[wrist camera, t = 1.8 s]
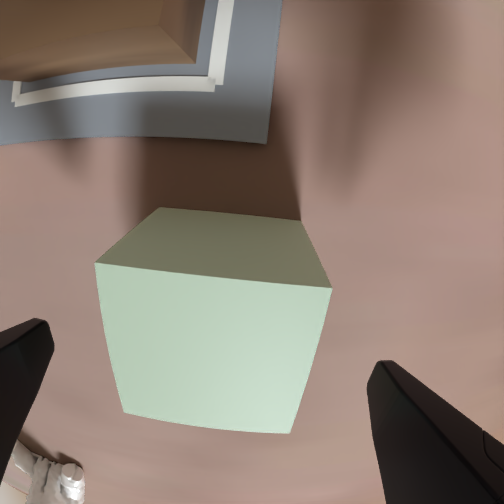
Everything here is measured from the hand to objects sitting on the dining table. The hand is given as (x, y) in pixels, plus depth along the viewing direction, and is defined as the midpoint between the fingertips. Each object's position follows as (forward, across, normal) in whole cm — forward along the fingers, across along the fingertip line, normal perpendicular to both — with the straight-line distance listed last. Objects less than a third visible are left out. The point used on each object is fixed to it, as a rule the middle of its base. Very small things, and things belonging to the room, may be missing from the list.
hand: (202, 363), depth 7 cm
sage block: (+5, 0, 0) cm, 5 cm away
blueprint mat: (+5, +5, -11) cm, 13 cm away
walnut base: (+4, +5, -11) cm, 13 cm away
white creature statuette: (+5, +16, +25) cm, 30 cm away
